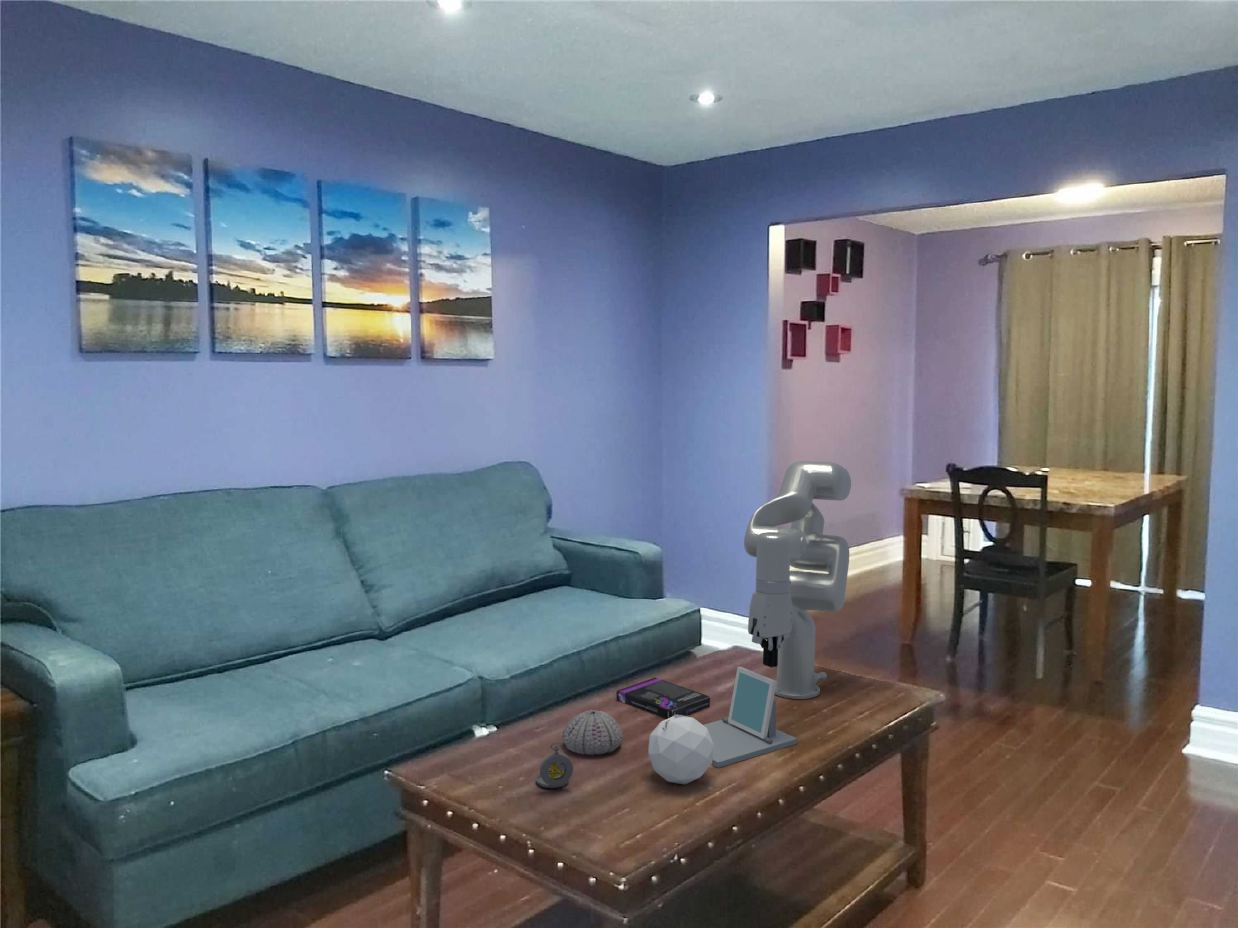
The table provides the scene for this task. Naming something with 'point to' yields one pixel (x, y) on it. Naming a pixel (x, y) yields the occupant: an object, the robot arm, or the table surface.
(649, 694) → the box
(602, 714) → the sea urchin shell
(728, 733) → the board
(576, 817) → the table surface
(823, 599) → the robot arm
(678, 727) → the geodesic sphere
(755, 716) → the tile
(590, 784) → the table surface
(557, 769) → the pocket watch
